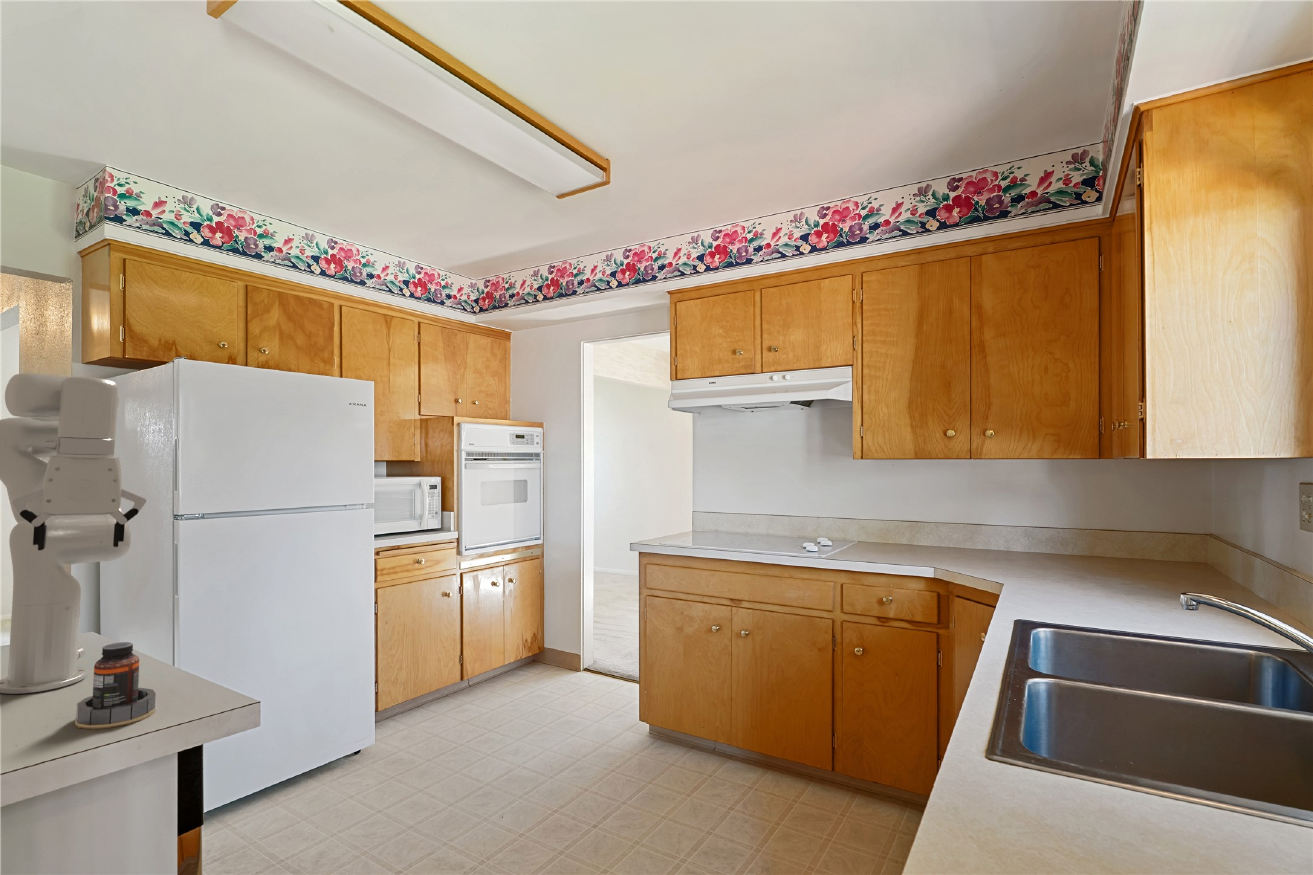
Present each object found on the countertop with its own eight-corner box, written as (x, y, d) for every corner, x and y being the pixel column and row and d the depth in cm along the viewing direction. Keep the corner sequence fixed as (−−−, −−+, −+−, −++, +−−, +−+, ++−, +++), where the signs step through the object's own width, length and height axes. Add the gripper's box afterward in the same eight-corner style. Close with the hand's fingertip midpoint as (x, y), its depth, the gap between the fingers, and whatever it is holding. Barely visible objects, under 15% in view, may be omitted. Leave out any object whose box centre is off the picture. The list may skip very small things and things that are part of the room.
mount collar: (96, 707, 113) (97, 689, 113) (166, 702, 116) (167, 685, 116) (59, 731, 103) (60, 712, 103) (137, 726, 106) (138, 707, 106)
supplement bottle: (132, 703, 113) (136, 638, 114) (141, 712, 110) (145, 644, 110) (87, 713, 109) (91, 644, 109) (95, 722, 105) (99, 652, 105)
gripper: (13, 447, 104) (6, 554, 104) (150, 451, 115) (143, 548, 115) (19, 446, 110) (12, 547, 109) (148, 449, 121) (142, 541, 120)
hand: (79, 547), depth 112 cm, fingers open, 9 cm apart
